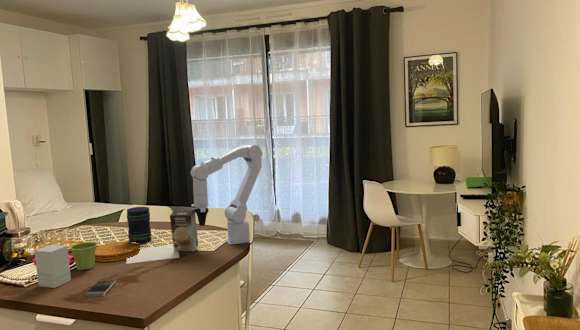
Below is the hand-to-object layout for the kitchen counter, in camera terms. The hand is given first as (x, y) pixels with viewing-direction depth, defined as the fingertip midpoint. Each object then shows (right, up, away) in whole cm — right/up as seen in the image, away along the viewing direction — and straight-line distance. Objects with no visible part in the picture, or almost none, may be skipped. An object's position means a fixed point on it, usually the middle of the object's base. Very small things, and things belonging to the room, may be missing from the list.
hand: (202, 225), depth 182 cm
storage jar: (-31, -9, +14) cm, 35 cm away
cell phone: (-25, -16, -40) cm, 50 cm away
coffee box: (-6, -10, -1) cm, 12 cm away
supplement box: (-44, -16, -34) cm, 57 cm away
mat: (-19, -11, -5) cm, 23 cm away
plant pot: (-40, -14, -19) cm, 47 cm away
